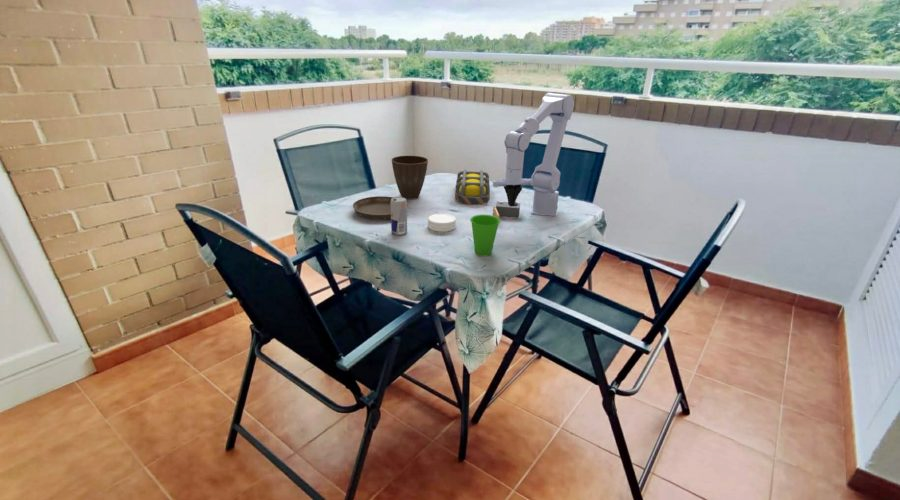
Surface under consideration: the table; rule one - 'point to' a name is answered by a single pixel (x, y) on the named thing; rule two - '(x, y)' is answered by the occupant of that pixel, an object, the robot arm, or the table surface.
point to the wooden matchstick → (495, 212)
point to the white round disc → (441, 222)
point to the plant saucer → (374, 207)
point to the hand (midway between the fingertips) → (511, 205)
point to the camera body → (508, 209)
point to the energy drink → (398, 215)
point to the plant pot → (409, 175)
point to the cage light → (472, 188)
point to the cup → (484, 233)
